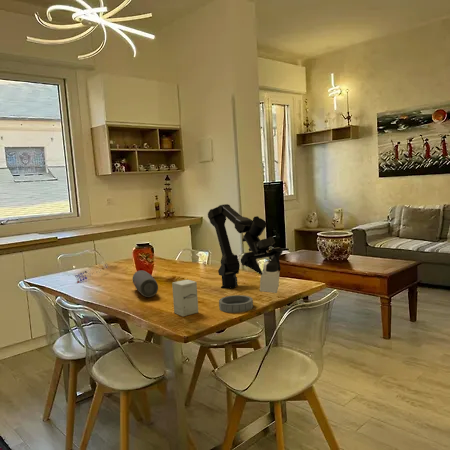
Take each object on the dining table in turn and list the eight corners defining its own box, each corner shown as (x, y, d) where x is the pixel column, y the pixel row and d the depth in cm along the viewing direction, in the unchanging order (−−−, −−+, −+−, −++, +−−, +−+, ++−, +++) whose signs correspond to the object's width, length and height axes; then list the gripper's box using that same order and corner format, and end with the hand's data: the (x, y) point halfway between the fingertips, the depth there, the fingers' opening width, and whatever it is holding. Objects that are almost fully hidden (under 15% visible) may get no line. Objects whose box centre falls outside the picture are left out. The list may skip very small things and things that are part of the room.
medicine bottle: (278, 286, 183) (280, 260, 180) (276, 293, 176) (278, 265, 173) (261, 284, 184) (263, 258, 181) (259, 291, 178) (261, 264, 174)
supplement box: (183, 317, 167) (180, 285, 166) (173, 312, 173) (171, 282, 172) (199, 312, 171) (197, 281, 170) (189, 308, 177) (187, 278, 176)
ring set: (85, 288, 233) (76, 268, 232) (74, 291, 240) (65, 272, 239) (119, 269, 252) (111, 251, 251) (108, 273, 260) (100, 255, 258)
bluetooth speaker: (132, 290, 214) (130, 270, 213) (150, 287, 217) (149, 268, 216) (139, 301, 193) (137, 279, 192) (160, 298, 196) (158, 276, 195)
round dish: (213, 311, 172) (213, 303, 171) (227, 301, 184) (227, 294, 184) (245, 314, 166) (245, 305, 166) (257, 303, 178) (257, 296, 178)
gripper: (242, 233, 176) (259, 264, 168) (279, 228, 185) (296, 257, 177) (233, 250, 184) (249, 280, 175) (269, 244, 193) (285, 272, 185)
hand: (270, 272), depth 178 cm, fingers closed on medicine bottle, 9 cm apart
